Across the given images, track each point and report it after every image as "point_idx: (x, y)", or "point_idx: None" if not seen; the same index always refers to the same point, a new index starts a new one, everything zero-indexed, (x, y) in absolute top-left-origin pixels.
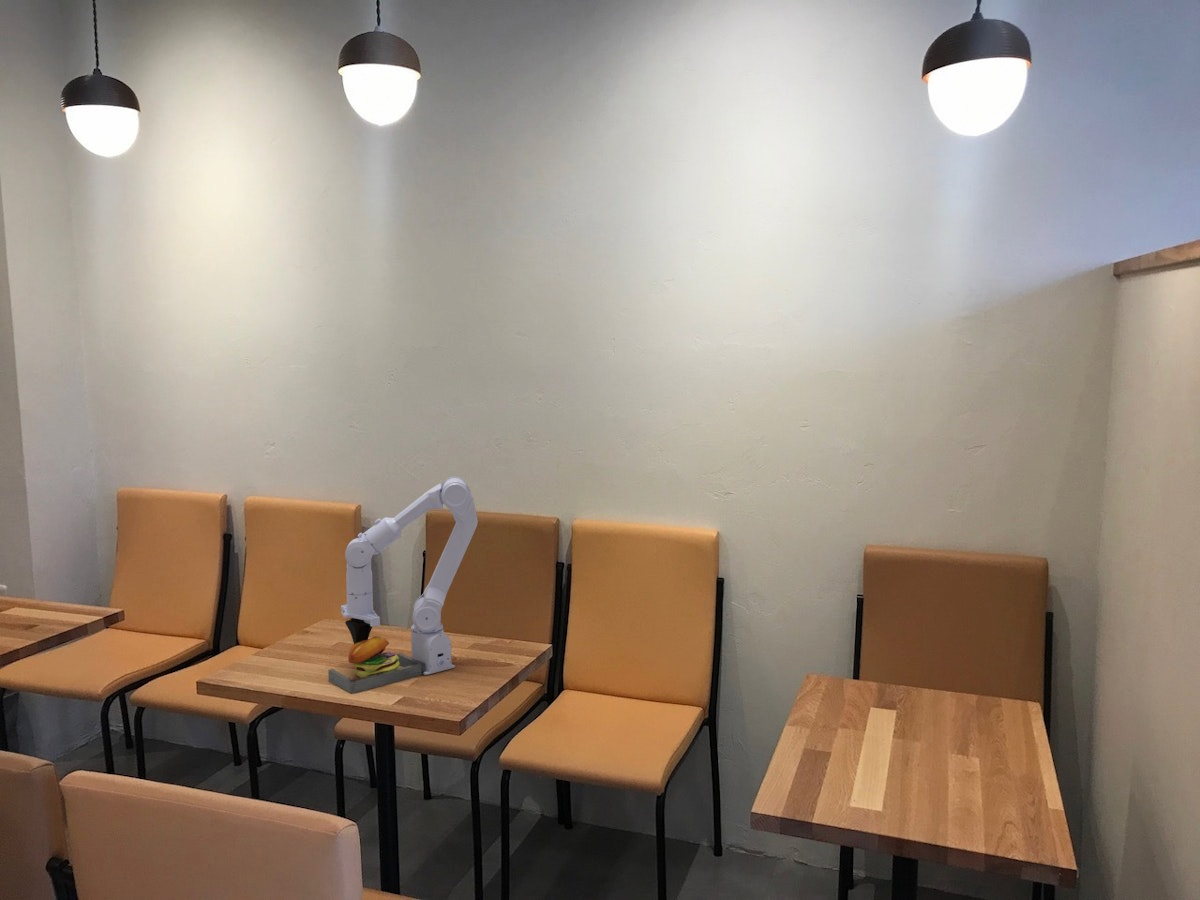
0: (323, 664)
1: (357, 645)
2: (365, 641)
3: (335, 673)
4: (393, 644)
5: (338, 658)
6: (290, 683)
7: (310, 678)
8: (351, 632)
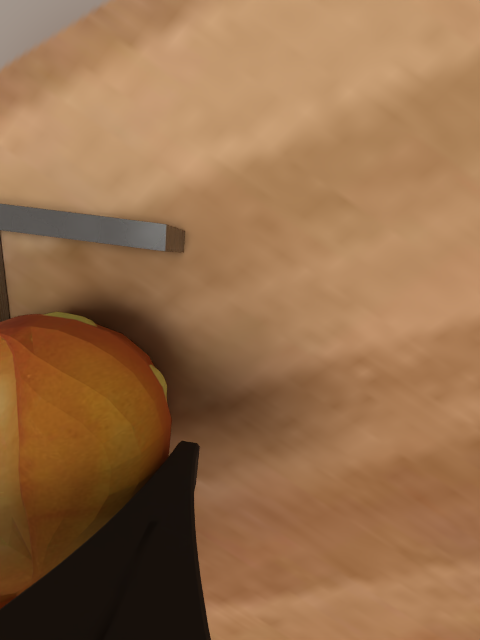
0: (395, 347)
1: (18, 434)
2: (26, 513)
3: (84, 215)
4: (354, 612)
5: (403, 429)
6: (297, 68)
7: (281, 193)
8: (158, 571)
